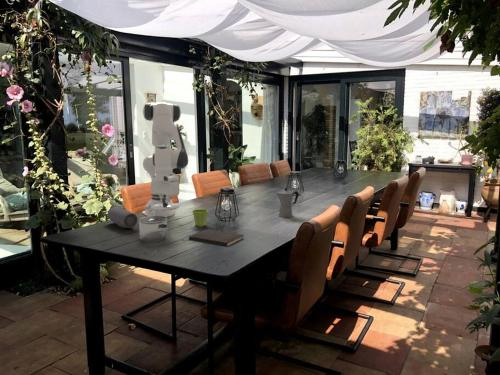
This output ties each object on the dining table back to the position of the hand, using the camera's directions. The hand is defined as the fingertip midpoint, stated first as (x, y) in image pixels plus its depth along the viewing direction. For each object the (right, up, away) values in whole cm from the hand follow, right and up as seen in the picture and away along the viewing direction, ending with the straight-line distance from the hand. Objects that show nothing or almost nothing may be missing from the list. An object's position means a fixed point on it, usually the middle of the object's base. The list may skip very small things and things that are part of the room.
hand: (165, 202), depth 211 cm
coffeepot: (+68, -10, +48) cm, 84 cm away
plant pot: (+16, -14, +24) cm, 32 cm away
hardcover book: (+27, -19, -3) cm, 33 cm away
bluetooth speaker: (-29, -15, +22) cm, 39 cm away
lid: (0, -2, 0) cm, 2 cm away
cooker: (-6, -18, -1) cm, 19 cm away
